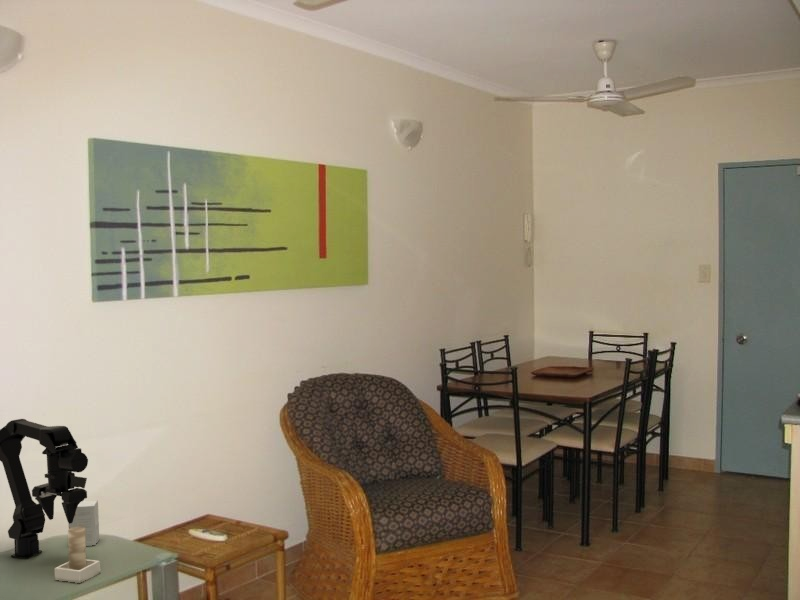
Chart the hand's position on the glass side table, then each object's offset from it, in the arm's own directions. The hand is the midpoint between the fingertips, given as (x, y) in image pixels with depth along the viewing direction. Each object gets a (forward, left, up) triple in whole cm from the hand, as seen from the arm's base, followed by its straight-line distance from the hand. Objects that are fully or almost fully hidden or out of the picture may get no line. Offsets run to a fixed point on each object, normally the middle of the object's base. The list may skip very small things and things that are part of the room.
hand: (60, 521), depth 242 cm
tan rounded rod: (+12, -7, -12) cm, 18 cm away
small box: (-6, +17, -13) cm, 23 cm away
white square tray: (+12, -7, -13) cm, 19 cm away
